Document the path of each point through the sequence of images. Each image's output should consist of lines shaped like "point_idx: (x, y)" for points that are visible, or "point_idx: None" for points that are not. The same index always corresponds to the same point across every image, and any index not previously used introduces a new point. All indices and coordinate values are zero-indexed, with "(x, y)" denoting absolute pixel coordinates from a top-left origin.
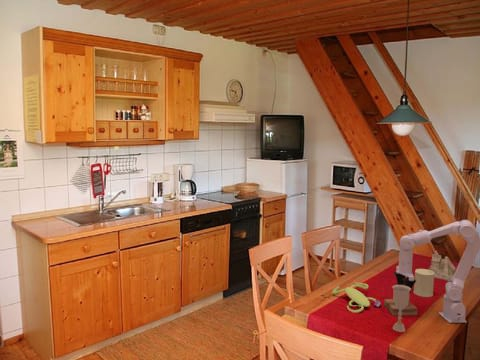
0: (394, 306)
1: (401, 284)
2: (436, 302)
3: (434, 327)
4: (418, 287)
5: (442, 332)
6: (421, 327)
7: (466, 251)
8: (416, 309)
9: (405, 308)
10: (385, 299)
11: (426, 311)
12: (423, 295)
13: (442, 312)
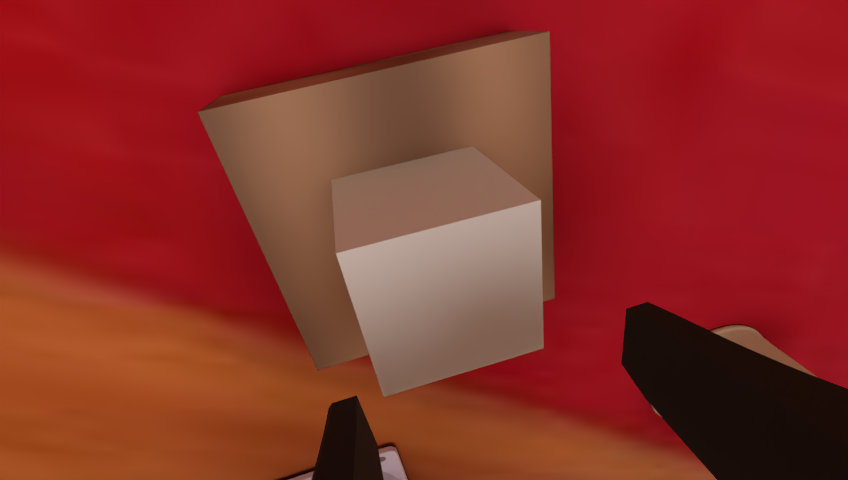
0: (311, 141)
1: (662, 385)
2: (568, 430)
3: (100, 424)
4: None
5: (21, 467)
6: (25, 343)
7: None
8: (314, 358)
9: (289, 266)
10: (539, 48)
11: None
12: None
13: (397, 467)
